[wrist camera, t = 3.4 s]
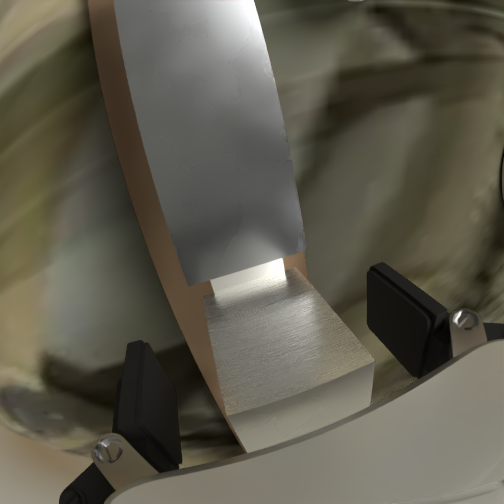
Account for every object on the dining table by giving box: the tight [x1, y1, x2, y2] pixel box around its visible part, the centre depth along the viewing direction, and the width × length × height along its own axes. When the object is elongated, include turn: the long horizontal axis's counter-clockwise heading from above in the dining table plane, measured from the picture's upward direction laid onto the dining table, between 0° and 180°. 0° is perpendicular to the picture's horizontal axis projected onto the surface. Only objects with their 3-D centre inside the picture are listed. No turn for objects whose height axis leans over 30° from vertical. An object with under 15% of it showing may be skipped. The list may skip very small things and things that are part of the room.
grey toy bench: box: [113, 0, 307, 287], centre depth 11 cm, size 5×18×8 cm, turn 12°
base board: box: [88, 0, 308, 454], centre depth 21 cm, size 10×48×2 cm, turn 12°
